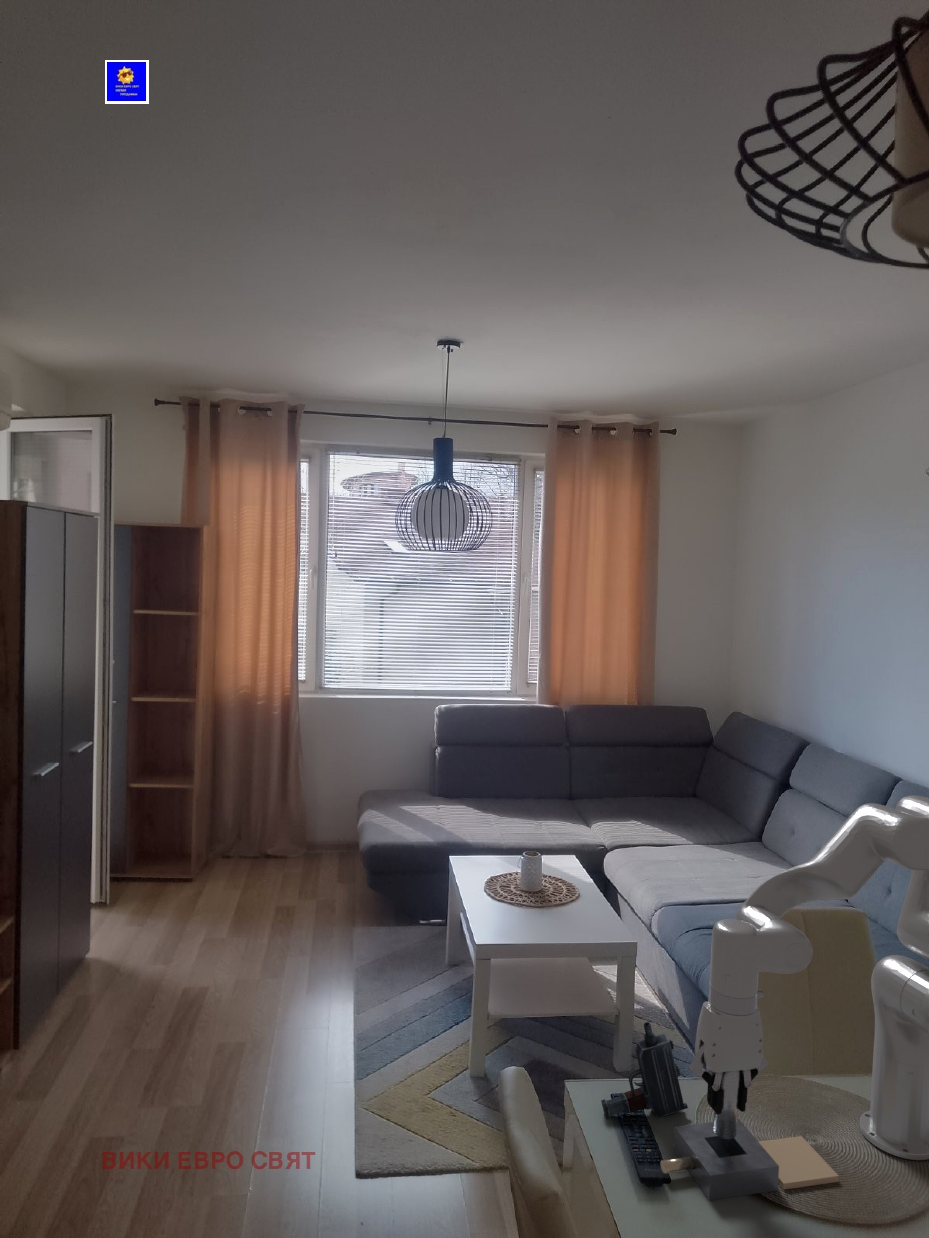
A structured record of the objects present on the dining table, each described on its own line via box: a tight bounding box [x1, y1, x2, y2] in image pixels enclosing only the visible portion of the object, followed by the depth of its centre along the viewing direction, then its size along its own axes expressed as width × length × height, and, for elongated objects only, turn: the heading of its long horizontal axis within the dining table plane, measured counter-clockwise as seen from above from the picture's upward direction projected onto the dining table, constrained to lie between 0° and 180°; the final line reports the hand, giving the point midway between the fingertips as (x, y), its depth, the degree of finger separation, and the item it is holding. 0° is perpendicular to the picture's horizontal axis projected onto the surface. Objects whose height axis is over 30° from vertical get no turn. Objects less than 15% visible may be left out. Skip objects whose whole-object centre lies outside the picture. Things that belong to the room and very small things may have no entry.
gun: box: [600, 1021, 689, 1119], centre depth 154 cm, size 3×17×15 cm
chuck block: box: [659, 1118, 779, 1201], centre depth 140 cm, size 17×12×4 cm
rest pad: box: [758, 1135, 840, 1190], centre depth 143 cm, size 10×10×1 cm
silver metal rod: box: [713, 1071, 740, 1139], centre depth 140 cm, size 4×4×13 cm
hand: (726, 1106), depth 140 cm, fingers closed on silver metal rod, 3 cm apart
